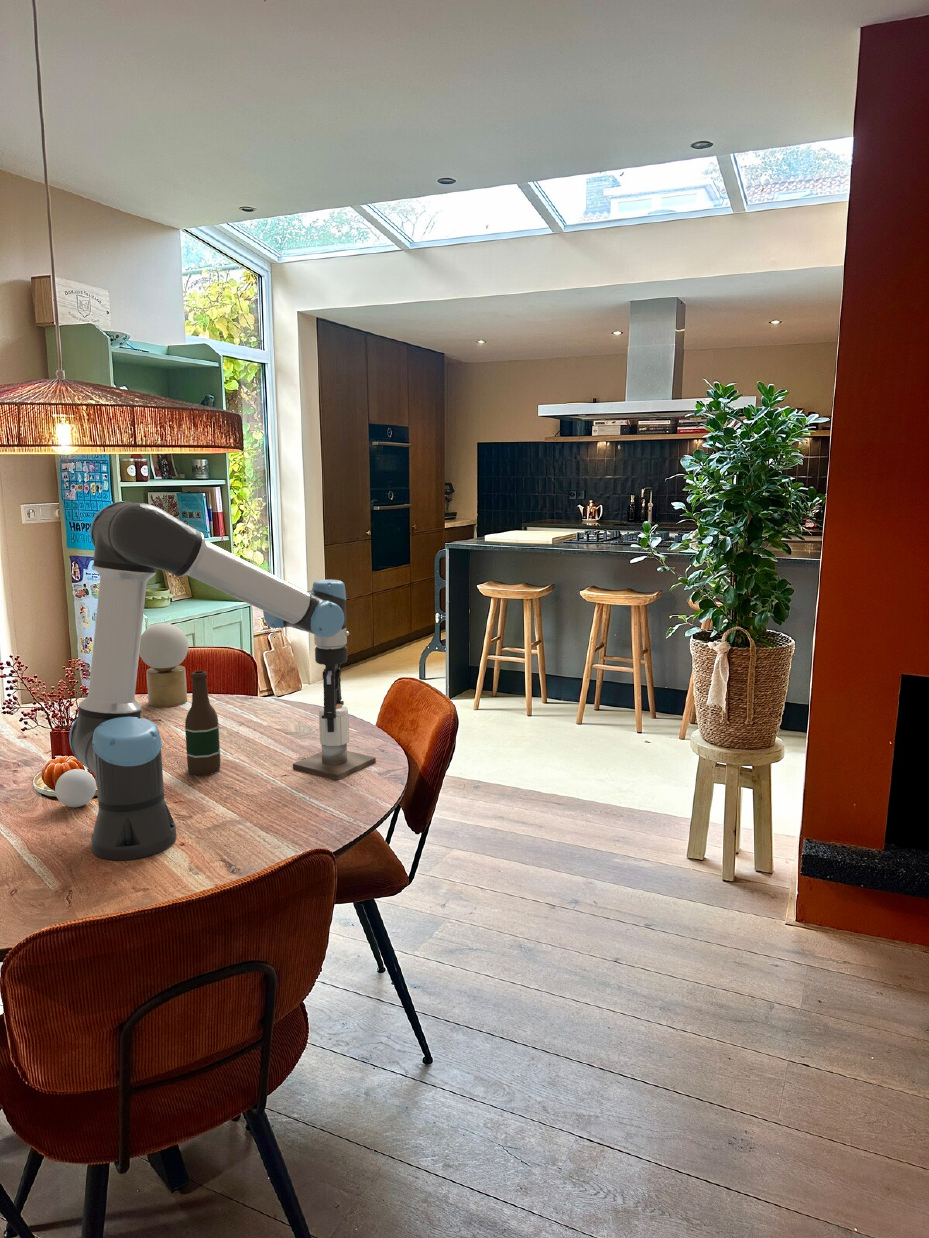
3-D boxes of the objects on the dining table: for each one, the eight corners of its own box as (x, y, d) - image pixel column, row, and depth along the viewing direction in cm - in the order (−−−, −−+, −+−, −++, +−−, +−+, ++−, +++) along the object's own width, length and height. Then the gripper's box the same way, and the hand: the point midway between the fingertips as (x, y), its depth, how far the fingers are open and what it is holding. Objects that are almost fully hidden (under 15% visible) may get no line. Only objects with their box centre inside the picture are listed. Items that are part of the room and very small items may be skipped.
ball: (52, 815, 174) (48, 778, 173) (61, 800, 182) (58, 765, 181) (93, 811, 176) (90, 775, 175) (101, 797, 184) (98, 762, 182)
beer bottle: (211, 777, 195) (205, 676, 191) (181, 774, 197) (174, 675, 193) (227, 765, 203) (222, 668, 199) (197, 763, 205) (192, 667, 200)
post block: (337, 779, 194) (336, 733, 192) (292, 768, 201) (291, 724, 199) (375, 762, 205) (374, 718, 203) (332, 752, 213) (330, 709, 211)
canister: (335, 747, 198) (334, 712, 196) (314, 742, 201) (313, 707, 200) (354, 739, 203) (353, 705, 202) (333, 735, 207) (332, 701, 205)
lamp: (189, 709, 251) (184, 626, 246) (139, 712, 248) (133, 628, 243) (193, 696, 265) (188, 617, 261) (146, 698, 262) (140, 619, 258)
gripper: (342, 655, 188) (345, 752, 192) (351, 636, 209) (353, 724, 213) (308, 655, 187) (312, 753, 191) (320, 636, 208) (323, 724, 212)
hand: (333, 737), depth 202 cm, fingers open, 9 cm apart
